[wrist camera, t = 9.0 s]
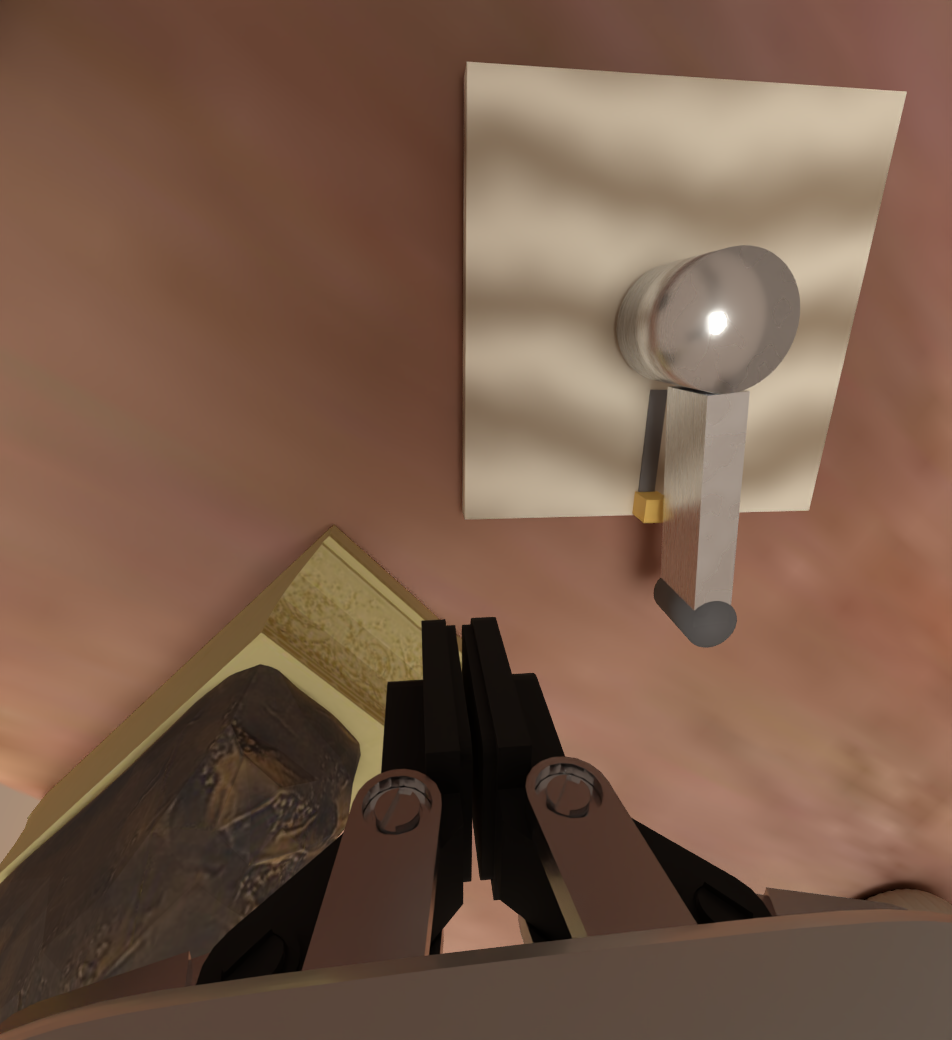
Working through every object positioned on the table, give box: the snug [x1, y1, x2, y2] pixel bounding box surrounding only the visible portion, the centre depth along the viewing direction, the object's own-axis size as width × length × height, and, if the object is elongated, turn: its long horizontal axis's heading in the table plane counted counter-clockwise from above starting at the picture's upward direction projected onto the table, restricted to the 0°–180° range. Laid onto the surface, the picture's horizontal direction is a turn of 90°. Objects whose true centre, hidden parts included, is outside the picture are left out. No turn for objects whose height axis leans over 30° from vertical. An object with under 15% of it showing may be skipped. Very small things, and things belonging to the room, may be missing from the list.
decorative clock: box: [0, 525, 462, 1024], centre depth 23 cm, size 28×13×30 cm, turn 132°
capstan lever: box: [617, 245, 800, 647], centre depth 28 cm, size 19×6×6 cm, turn 5°
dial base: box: [462, 62, 907, 523], centre depth 29 cm, size 22×22×3 cm
